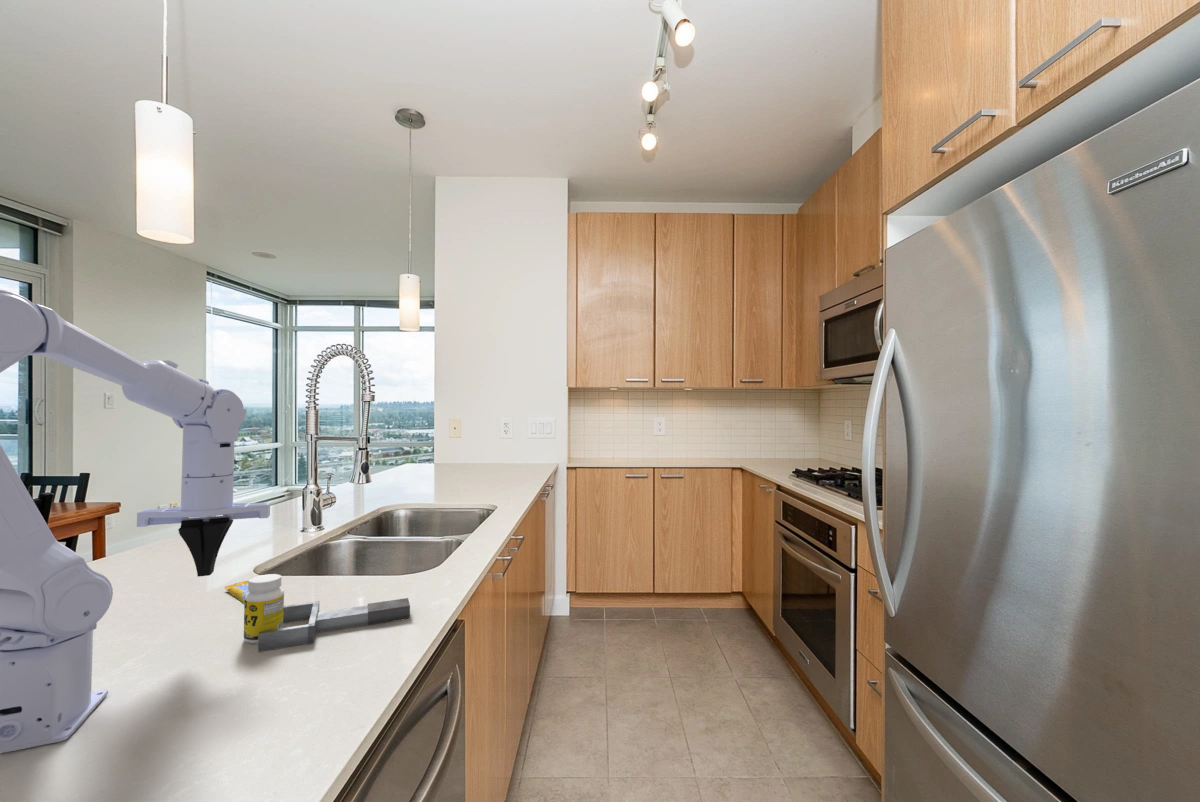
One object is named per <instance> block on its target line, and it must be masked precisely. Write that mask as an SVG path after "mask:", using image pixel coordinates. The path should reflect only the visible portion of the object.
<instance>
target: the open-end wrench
mask: <svg viewBox="0 0 1200 802" xmlns="http://www.w3.org/2000/svg"><path fill="white" fill-rule="evenodd" d="M408 618H410V619H411V604H410V601H409V598H408V597H407V598H406V597H405V598H399V599H393V600H385V601H377V602H370V603H367V605H360V606H355V607H349V608H340V609H333V610H328V611H326V610H325V611H321V612H320V600H317V601H316V600H315V601H308V602H302V603H294V604H293V603H292V604H286V605H284V614H283V624H286V623H295V622H301V621H307V620H308V624H302V625H301V624H300V625H295V626H287V627H283V628H280V629H273V630H267V631H260V632H259V634H258V643H257V652H258V653H259V652H266V651H272V650H278V649H284V648H290V647H296V646H302V645H307V644H308V645H309V644H315V639H316V635H317V633H325V632H329V631H337V630H344V629H348V628H350V629H351V628H354V627H356V628H357V627H361V626H370V625H371V626H372V625H377V624H382V623H383V624H385V623H390V622H395V621H396V622H397V621H401V620H402V619H404V620H409V619H408Z"/></svg>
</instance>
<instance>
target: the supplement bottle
mask: <svg viewBox="0 0 1200 802" xmlns="http://www.w3.org/2000/svg"><path fill="white" fill-rule="evenodd" d="M248 580H249V581H248ZM248 580H247V581H248V591H249V593H247V594H246V596H245V604H244V612H243V613H244V614H243V640H244V642H246V643H248V644H258V634H259V632H260V631H267V630H273V629H280V628H284V623H283V614H284V606H285V605H284V604H285V592H284V591H285V590H284V589H283V588H282V587H281V586H282V575H281V574H277V573H267V574H262V575H257V576H253V577H251V578H250V579H248Z"/></svg>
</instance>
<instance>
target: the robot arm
mask: <svg viewBox="0 0 1200 802" xmlns="http://www.w3.org/2000/svg"><path fill="white" fill-rule="evenodd" d="M27 356H40V357H45V358H48V359H50V360H53V361H54V362H57V363H61V364H63V365H66V366H68V367H72V368H74V369H76V370H79V371H82V372H85V373H88V374H90V375H93V376H94V377H98V378H101V379H103V380H105V381H108V382H112V383H114V384H117V385H119V386H121V390H122V393H123V396H124V397H125V399H127V400H128V401H130V402H133V403H136V404H138V405H140V406H142V407H145V408H148V409H150V410H153V411H155V412H157V413H160V414H163V415H164V416H168V417H169V418H171V419H172V421H173V422H174V424H175V425H176V426H177V427H178V428H180V429H182V453H181V455H182V456H181V458H182V460H181V461H182V462H181V489H180V506H173V507H164V508H163V507H162V508H161V507H160V508H154V509H153V508H151V509H149V508H148V509H141V510H139V511H138V512H136V528H140V527H141V528H143V527H149V526H155V525H156V526H158V525H160V526H161V525H171V524H173V525H174V524H180V527H179V528H178V529H177V530H178V534H179V536H180V538H182V540H183V541H184V543H185V545H186V547H187V548H188V550H189V551H190V554H191V556H192V559H193V562H194V565H195V569H196V574H197V577H205V576H206V577H207V576H211V575H212V574H213V573H214V570H215V564H216V562H217V561H216V560H217V557H218V554H219V551H220V548H221V546H222V543H223V542H224V539H225V537H226V535H227V534H228V531H229V530H230V528H231V526H232V524H233V522H234V520H242V519H243V520H245V519H257V518H258V519H268V518H269V517H270V516H271V502H239V503H238V502H234V476H235V475H234V471H235V470H234V469H235V442H236V441H237V439H238V438H239V429H240V427H241V425H242V424H243V422H245V419H246V416H247V410H248V409H247V408H244V404H243V403H244V402H243V401H242V400H241V398H240V397H239V396H238V395H237V394H236V393H235V392H233V391H232V390H229V389H221V388H220V389H219V388H217V389H215V388H213V387H212V386H211V385H210V384H209V383H210V382H209V381H208V380H206V379H204V378H195V377H194V376H192V375H189V374H187V373H185V372H183V371H182V370H179V369H178V367H179V365H178V363H176V362H174V361H172V360H168V359H167V360H159V359H150V360H146V361H142V362H141V361H140V360H138V359H136V358H134V357H133V356H131V355H129V354H127V353H125V352H123V351H122V350H119V349H118V348H116V347H114V346H112V345H110V344H108V343H107V342H105V341H103V340H101V339H99V338H97V337H96V336H94V335H92V334H90V333H88V332H87V331H85V330H83V329H81V328H80V327H77V326H76V325H74V324H72V323H70V322H68V321H66V320H65V319H64V318H63V317H62V316H61V315H60V314H58V313H57V312H56V311H55V310H54V309H52V308H49V307H47V306H44V305H41V304H38V303H33V302H32V301H31V300H29V299H28V298H26V297H25V296H22V295H20V294H18V293H15V292H12V291H9V290H5V289H0V374H1V373H2V372H4V371H6V370H7V369H8V368H10V367H12V366H13V365H15V364H16V363H18V362H20V361H21V360H23V359H24V358H25V357H27ZM113 589H114V588H113V586H112V583H111V581H110V580H109V579H108V577H107V576H105V575H104V574H102V573H99V572H97V571H95V570H94V569H92V568H91V567H89V565H88V563H87V562H86V560H85V559H84V557H83V556H81V555H80V554H78V553H77V552H75V551H74V550H72V549H71V548H69V547H67V546H66V545H64V544H62V543H61V542H59V541H58V540H57V539H56V537H55V536H54V534H53V533H52V531H51V529H50V527H49V526H48V524H47V522H46V520H45V519H44V516H43V515H42V513H41V512H40V510H39V508H38V506H37V504H36V503H35V501H34V500H33V498H32V496H31V494H30V493H29V491H28V489H27V488H26V485H25V484H24V483H23V481H22V479H21V477H20V475H19V473H18V472H17V471H16V469H15V466H14V465H13V463H12V461H11V460H10V458H9V457H8V454H7V452H6V451H5V450H4V448H3V446H2V445H1V443H0V754H3V753H4V752H5V753H8V752H9V753H10V752H13V751H19V750H24V749H29V748H34V747H39V746H44V745H48V744H54V743H59V742H63V741H65V740H67V739H69V738H70V737H71V735H72V734H73V733H74V732H75V731H76V730H77V729H78V728H79V727H80V726H81V724H82V723H83V722H84V721H85V720H86V719H87V718H88V716H89V715H90V714H91V713H92V712H93V711H94V710H95V708H97V706H98V705H99V704H100V703H101V702H102V701H103V699H104V698H106V696H107V695H108V694H109V689H108V688H106V689H105V688H103V689H98V690H93V691H92V686H93V685H92V679H93V678H92V677H93V649H94V648H93V647H94V645H93V643H94V631H95V630H97V623H98V622H99V621H101V619H102V618H103V617H104V616H105V614H106V613H107V611H108V610H109V608H110V606H111V604H112V600H113V593H114V592H113Z"/></svg>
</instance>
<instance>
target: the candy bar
mask: <svg viewBox="0 0 1200 802" xmlns="http://www.w3.org/2000/svg"><path fill="white" fill-rule="evenodd" d="M248 581H249V579H248V580H245V581H240V582H237V583H234V584H230V585H227V586H224V589H225V591H228V592H229V594H230V595H232V596H233V597H234V596H235V597H234V598H236V600H238V599H239V600H238V601H240V602H241V601H242V602H241V603H243V604H244V605H245V596H246V594H247V593H249V591H248Z"/></svg>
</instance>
